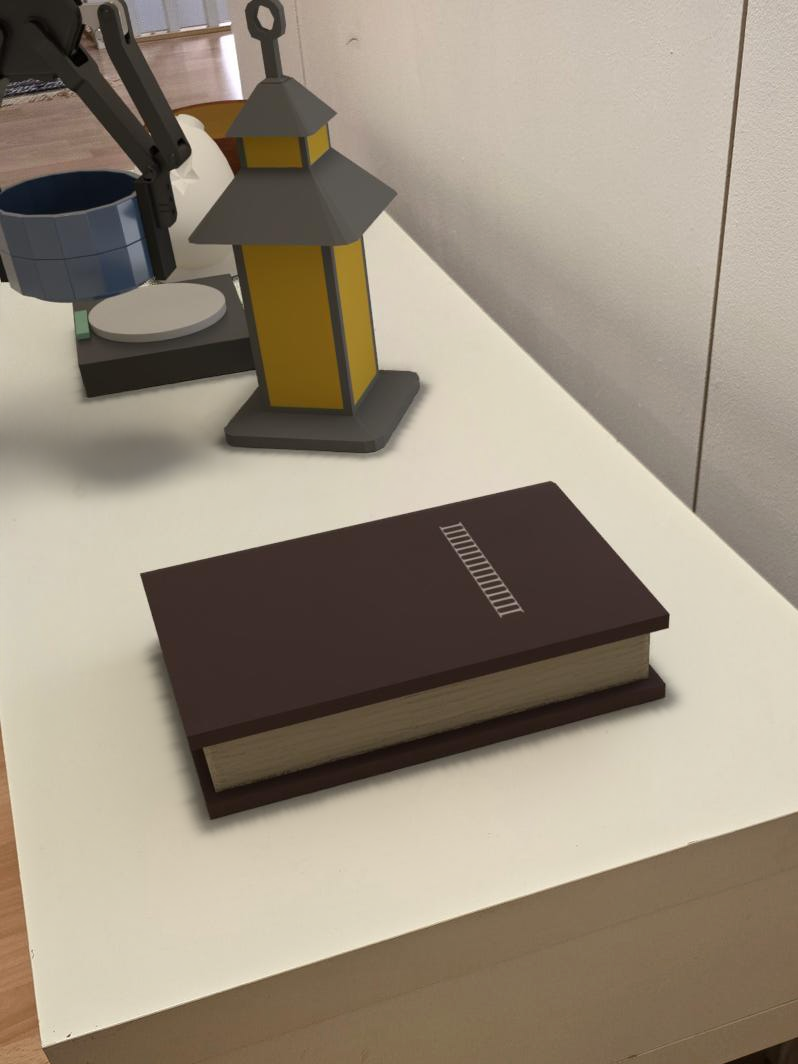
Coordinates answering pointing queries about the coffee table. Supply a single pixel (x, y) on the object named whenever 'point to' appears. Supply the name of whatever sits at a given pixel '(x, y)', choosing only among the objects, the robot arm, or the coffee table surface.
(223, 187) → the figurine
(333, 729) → the book
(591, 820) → the coffee table surface
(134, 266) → the glazed bowl
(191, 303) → the scale
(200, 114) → the bowl
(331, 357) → the lantern
